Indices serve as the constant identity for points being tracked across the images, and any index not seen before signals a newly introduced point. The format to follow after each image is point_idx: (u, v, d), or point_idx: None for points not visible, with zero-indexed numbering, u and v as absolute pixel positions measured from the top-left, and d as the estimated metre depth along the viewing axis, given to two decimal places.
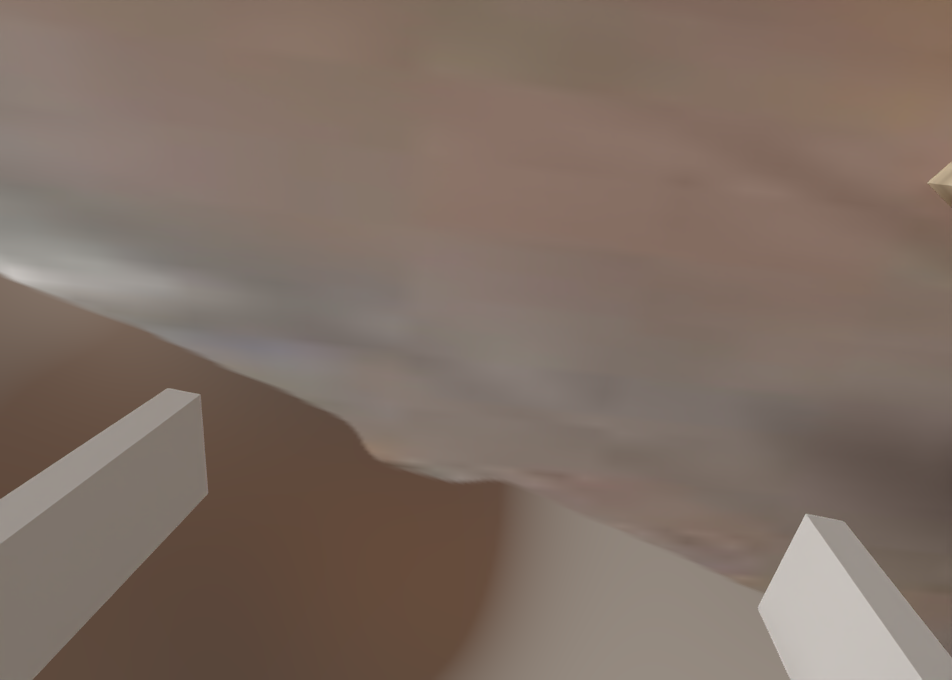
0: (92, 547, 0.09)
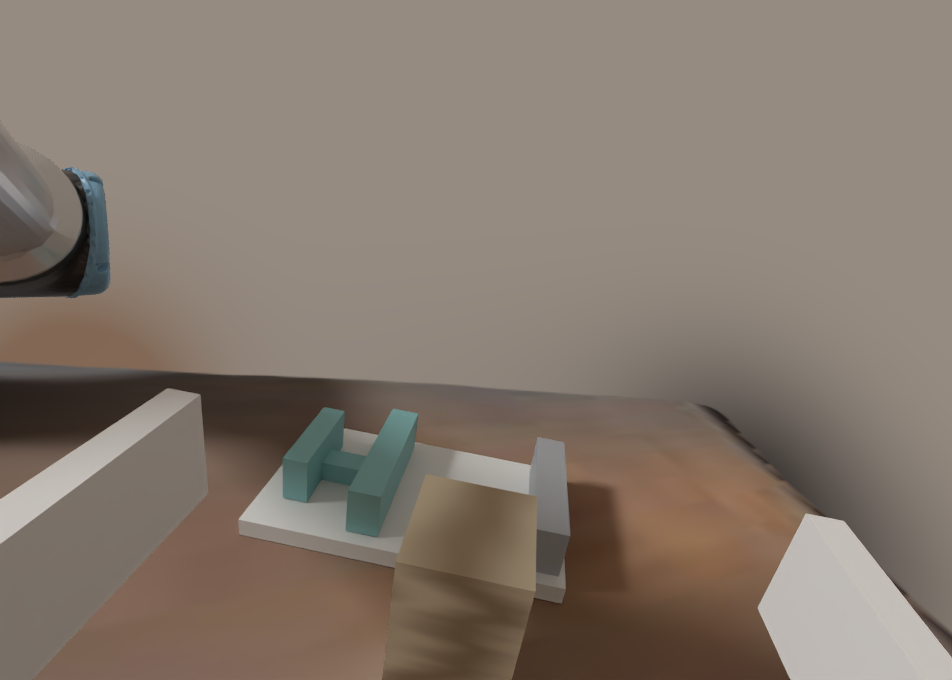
0: (92, 547, 0.09)
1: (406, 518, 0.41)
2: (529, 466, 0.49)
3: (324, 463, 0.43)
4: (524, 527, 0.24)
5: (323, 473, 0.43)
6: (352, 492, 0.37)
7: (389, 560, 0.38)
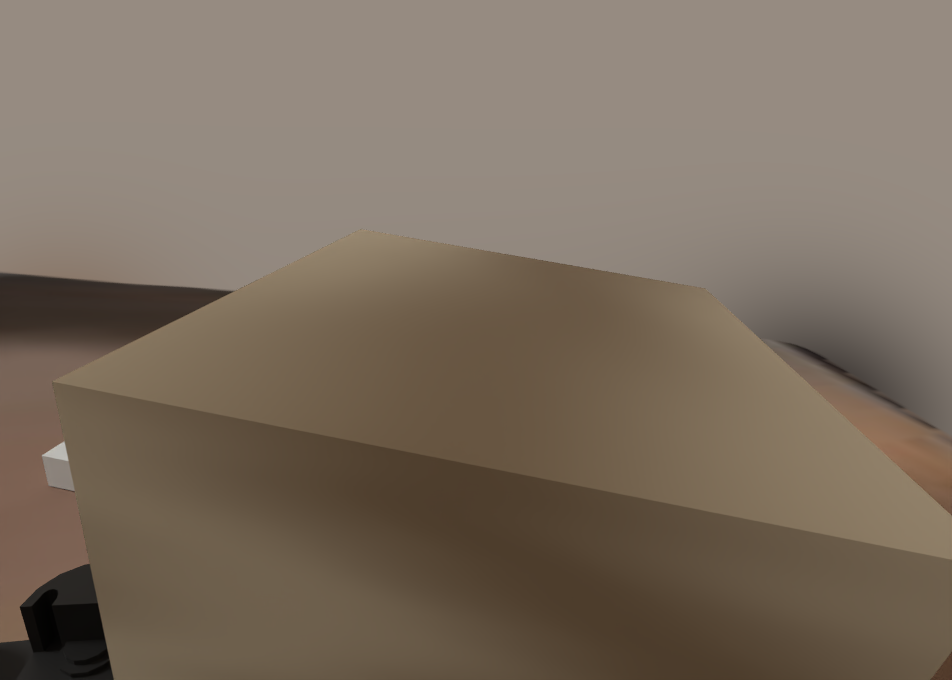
0: None
1: None
2: None
3: None
4: (714, 333, 0.06)
5: None
6: None
7: None
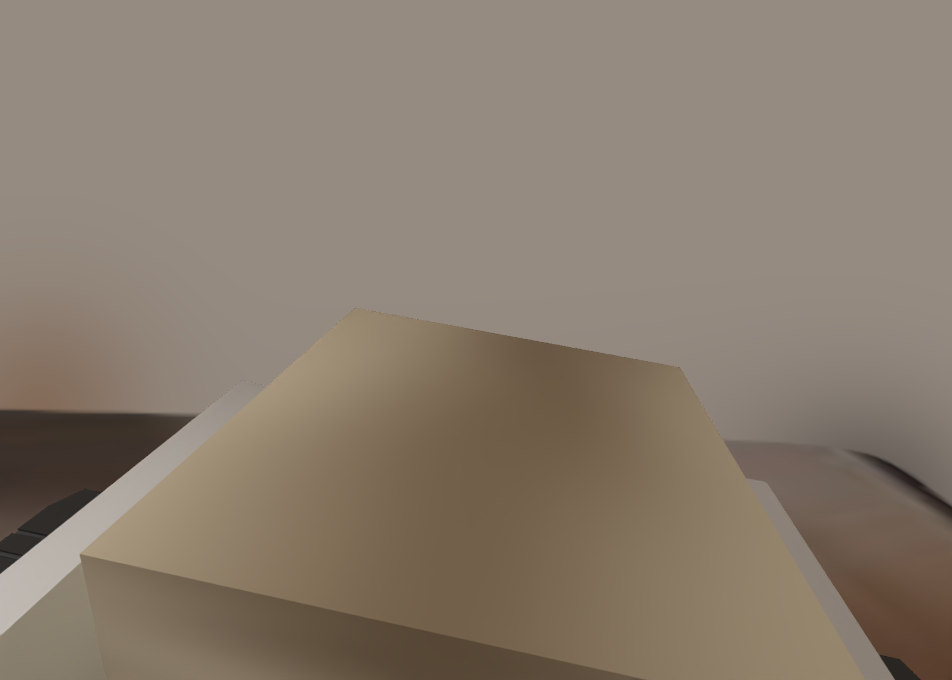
0: None
1: None
2: None
3: None
4: (678, 435, 0.07)
5: None
6: None
7: None
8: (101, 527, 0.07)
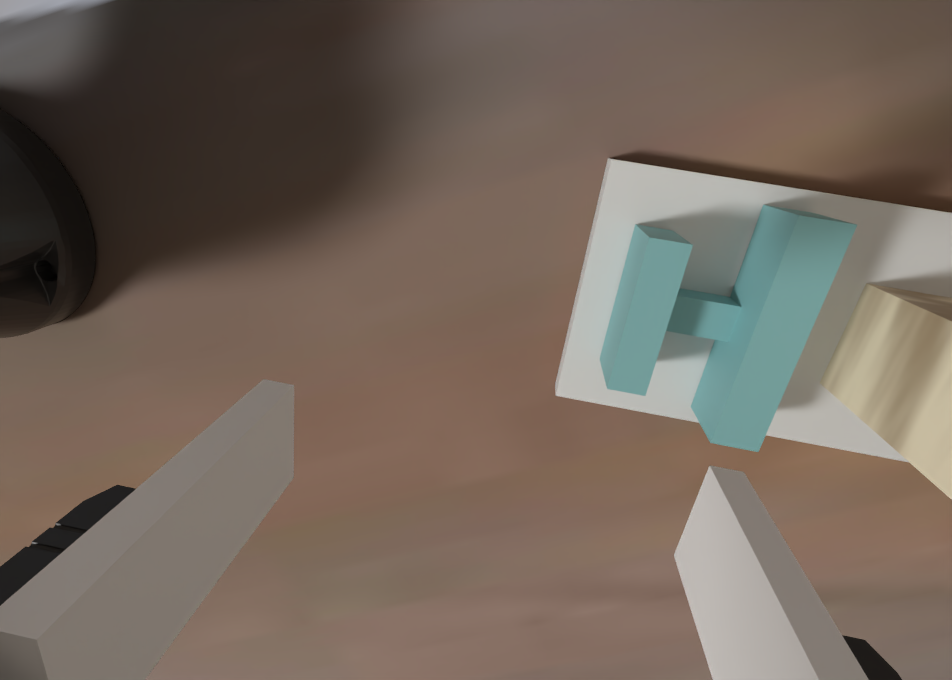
0: (219, 520, 0.09)
1: None
2: None
3: None
4: None
5: None
6: None
7: None
8: (139, 521, 0.08)
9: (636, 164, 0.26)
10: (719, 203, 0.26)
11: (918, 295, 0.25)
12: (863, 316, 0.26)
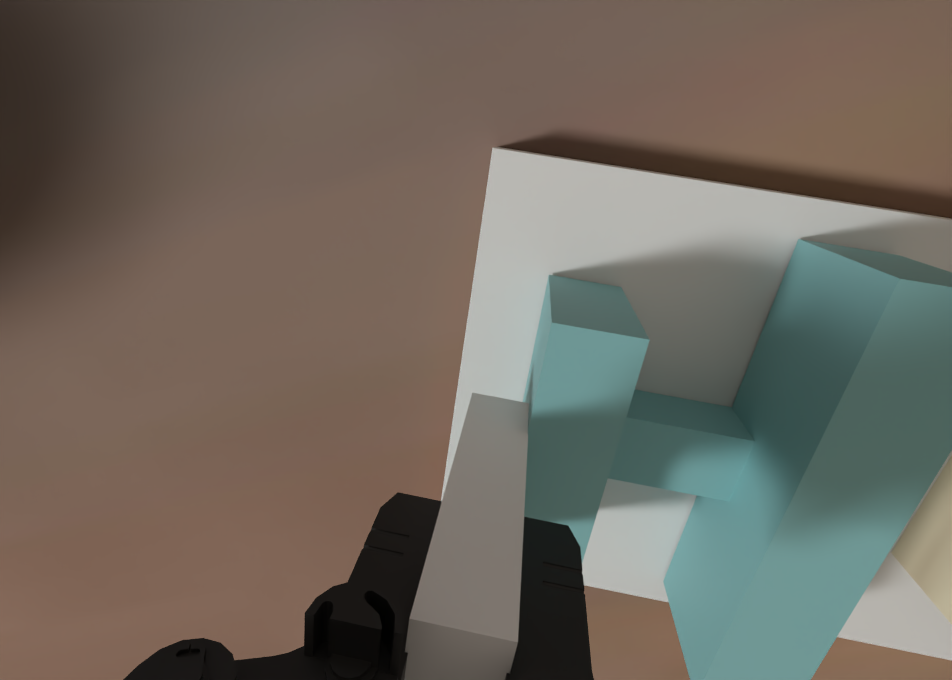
0: None
1: None
2: None
3: None
4: None
5: None
6: None
7: None
8: (468, 526, 0.08)
9: (542, 158, 0.13)
10: (708, 235, 0.13)
11: None
12: None
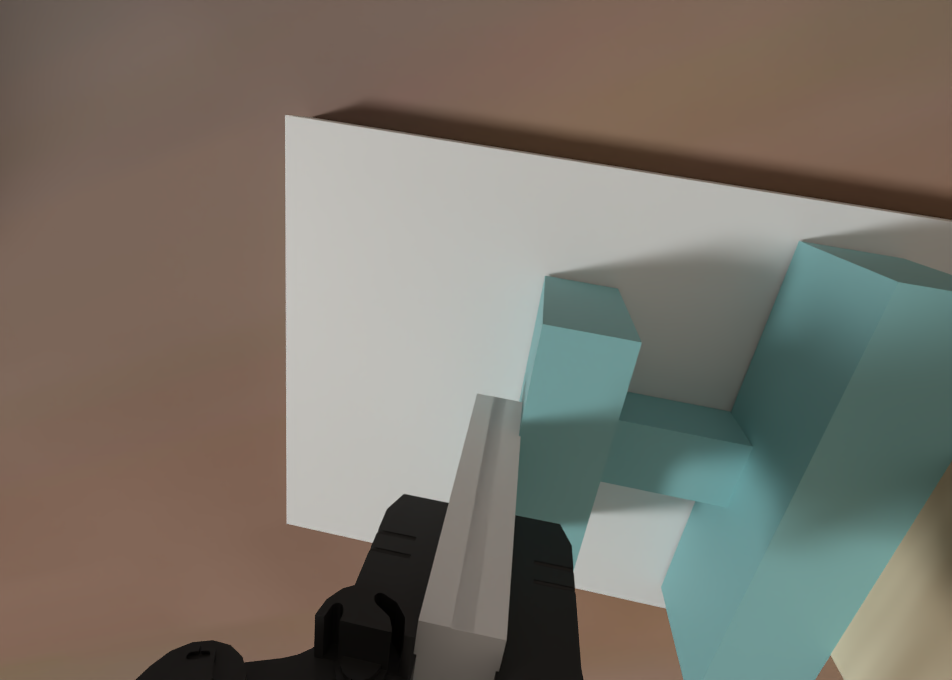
0: None
1: (640, 518, 0.16)
2: None
3: None
4: None
5: None
6: None
7: None
8: (475, 528, 0.08)
9: (332, 125, 0.13)
10: (498, 201, 0.13)
11: None
12: None
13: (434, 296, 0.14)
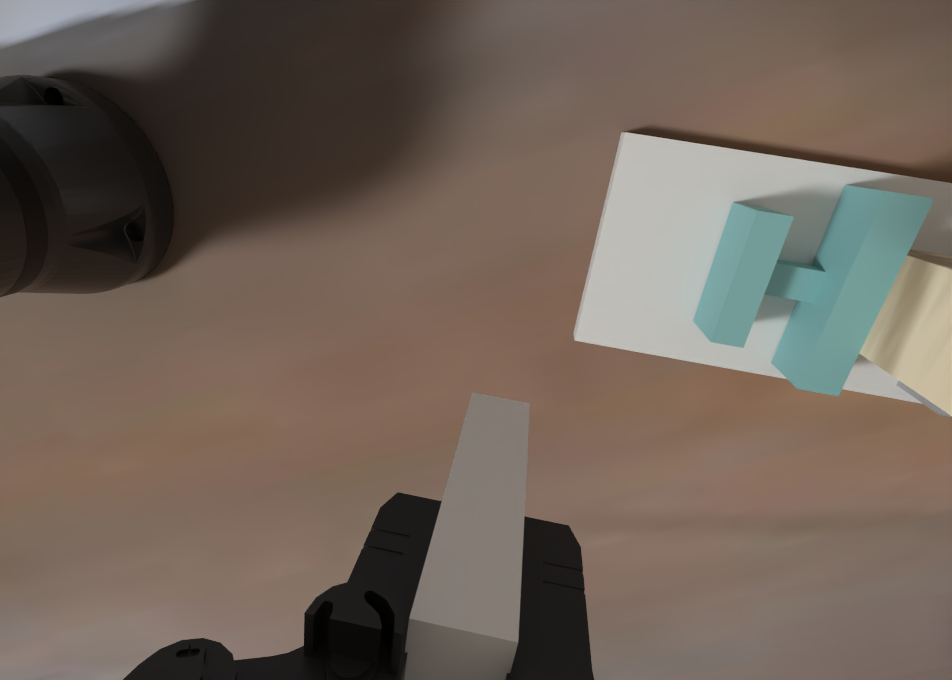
0: None
1: (763, 324, 0.34)
2: None
3: None
4: None
5: None
6: None
7: None
8: (468, 526, 0.08)
9: (646, 136, 0.31)
10: (715, 169, 0.31)
11: None
12: None
13: (678, 213, 0.32)
